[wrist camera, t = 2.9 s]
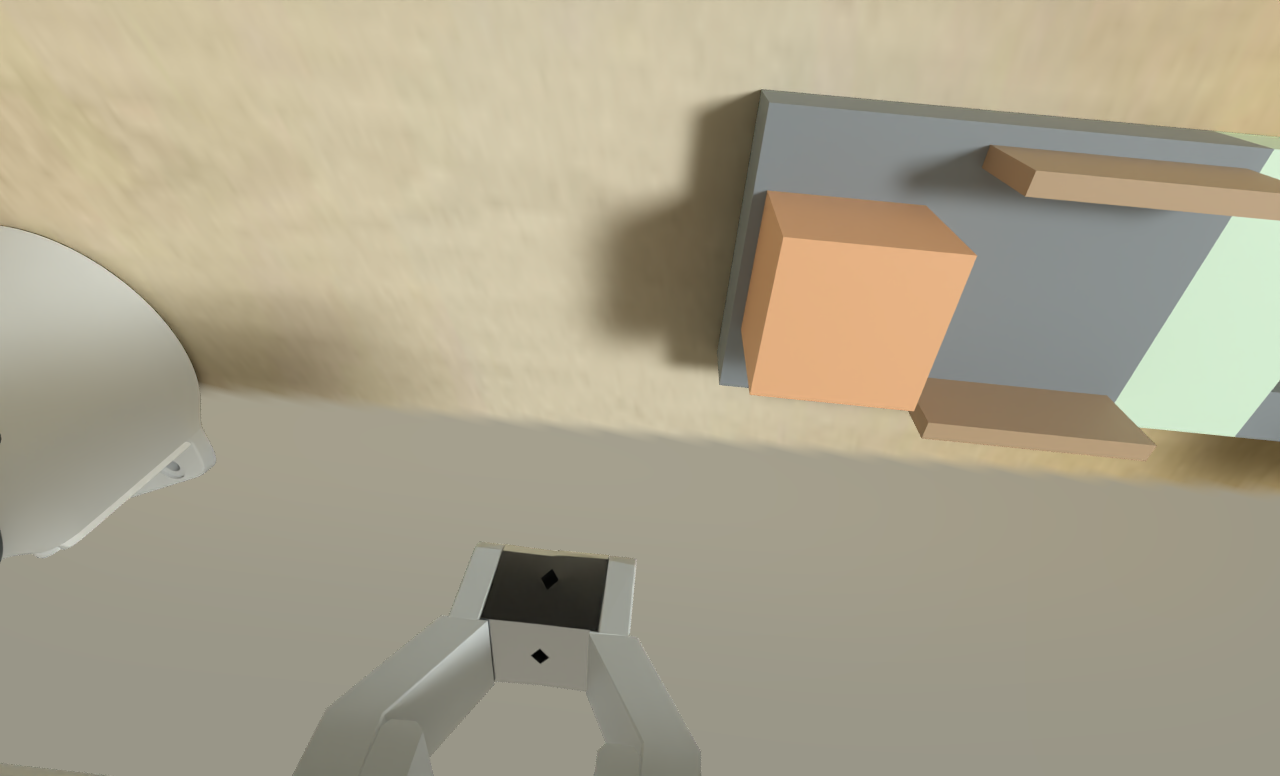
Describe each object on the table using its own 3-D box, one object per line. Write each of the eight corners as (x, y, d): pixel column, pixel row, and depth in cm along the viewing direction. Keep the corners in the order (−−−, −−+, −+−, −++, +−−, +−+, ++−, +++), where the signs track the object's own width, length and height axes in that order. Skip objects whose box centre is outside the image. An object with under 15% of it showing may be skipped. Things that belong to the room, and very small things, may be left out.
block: (740, 329, 26) (749, 394, 22) (767, 190, 23) (783, 237, 19) (879, 343, 26) (913, 411, 22) (926, 205, 23) (977, 255, 19)
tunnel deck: (717, 351, 31) (722, 431, 25) (761, 89, 24) (781, 121, 19) (1364, 416, 30) (1510, 512, 25) (1596, 166, 23) (1867, 223, 18)
